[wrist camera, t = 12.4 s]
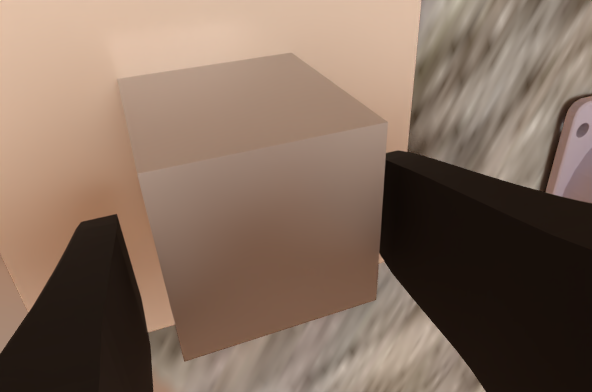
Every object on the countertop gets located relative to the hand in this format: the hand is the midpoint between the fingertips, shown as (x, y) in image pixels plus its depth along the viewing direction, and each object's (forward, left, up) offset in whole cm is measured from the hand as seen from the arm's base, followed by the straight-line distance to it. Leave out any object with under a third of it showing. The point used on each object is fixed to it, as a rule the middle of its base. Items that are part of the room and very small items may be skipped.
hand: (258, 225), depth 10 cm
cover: (0, 0, -4) cm, 4 cm away
